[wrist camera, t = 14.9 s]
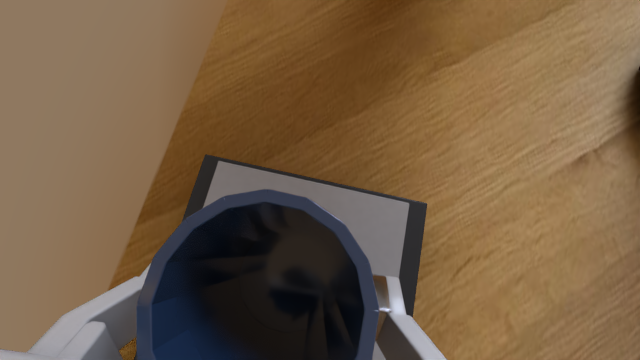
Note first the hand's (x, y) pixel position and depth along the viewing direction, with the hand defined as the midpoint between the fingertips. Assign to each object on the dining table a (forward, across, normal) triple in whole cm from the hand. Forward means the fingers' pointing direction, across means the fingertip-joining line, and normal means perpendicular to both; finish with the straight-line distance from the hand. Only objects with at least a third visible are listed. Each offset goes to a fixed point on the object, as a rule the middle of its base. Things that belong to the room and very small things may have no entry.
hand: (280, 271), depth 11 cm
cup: (+3, 0, +4) cm, 5 cm away
